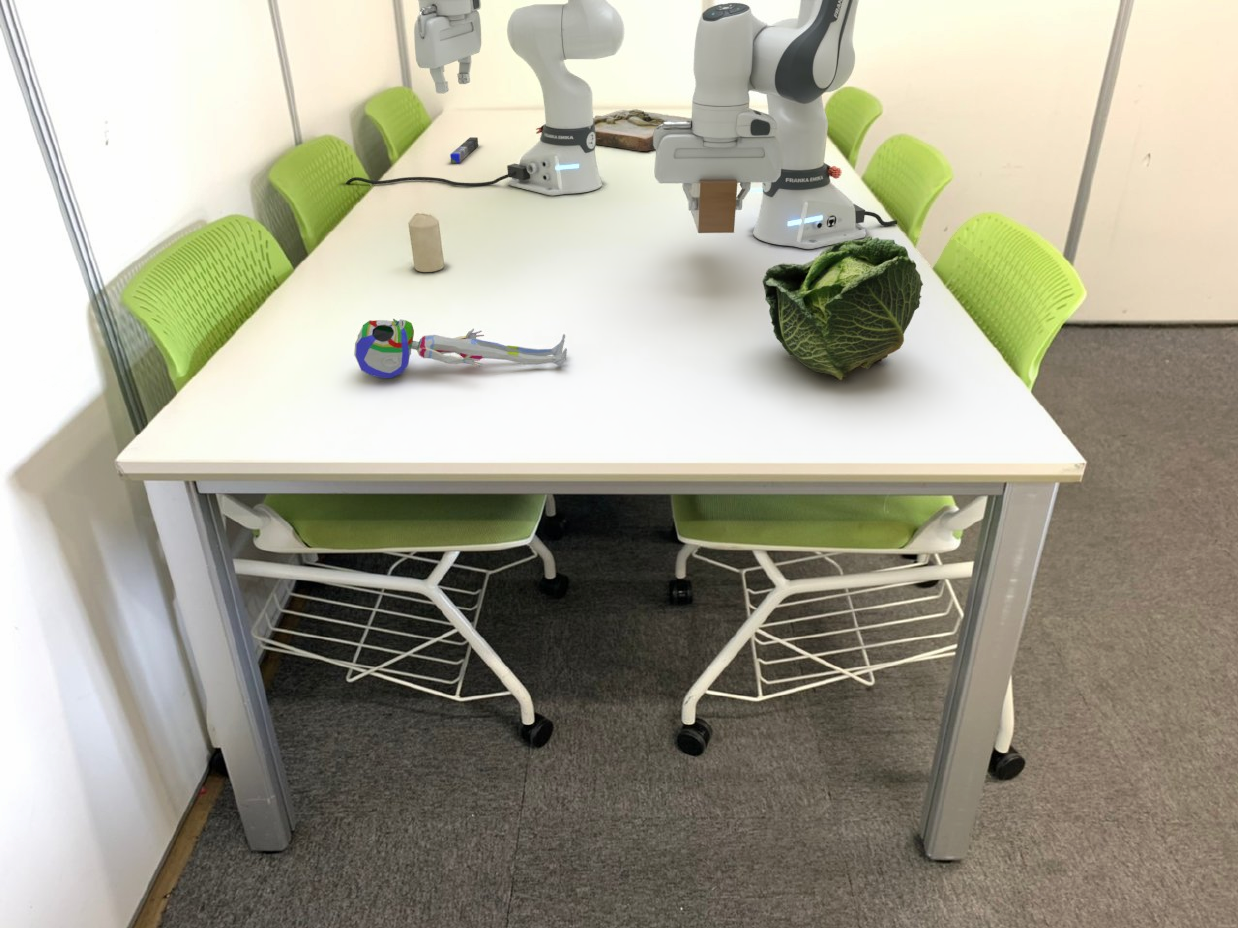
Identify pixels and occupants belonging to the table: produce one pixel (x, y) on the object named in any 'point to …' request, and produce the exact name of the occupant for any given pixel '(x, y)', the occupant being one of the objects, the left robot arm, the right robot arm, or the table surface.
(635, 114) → the plaque
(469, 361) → the toy
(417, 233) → the candle
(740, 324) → the table surface
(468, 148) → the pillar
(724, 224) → the bar
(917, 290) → the vegetable
